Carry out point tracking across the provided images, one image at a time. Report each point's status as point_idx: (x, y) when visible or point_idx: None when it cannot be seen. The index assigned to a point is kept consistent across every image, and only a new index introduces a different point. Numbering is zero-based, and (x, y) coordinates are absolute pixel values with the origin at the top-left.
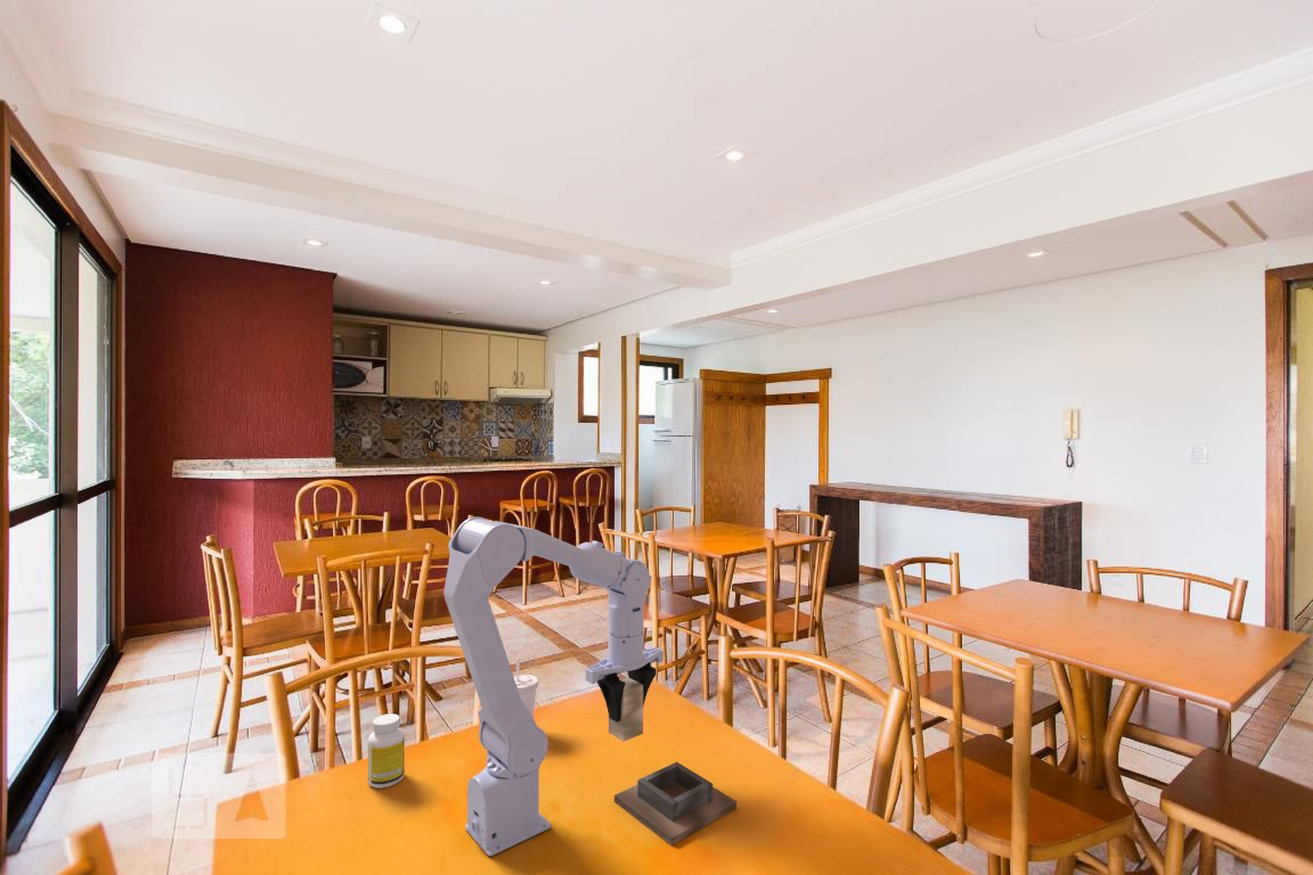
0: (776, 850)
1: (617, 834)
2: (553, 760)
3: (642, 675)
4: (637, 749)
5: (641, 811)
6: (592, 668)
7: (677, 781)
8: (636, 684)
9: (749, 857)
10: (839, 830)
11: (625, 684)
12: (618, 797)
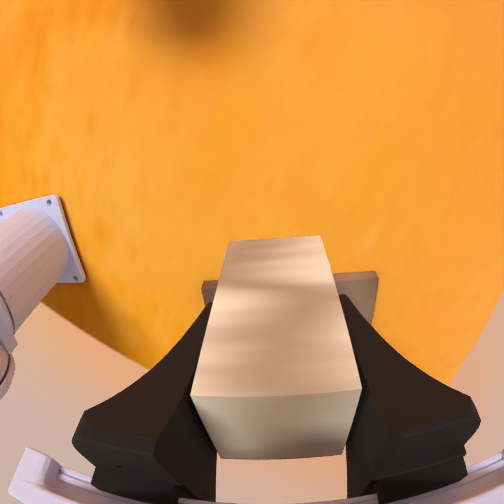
0: None
1: (173, 340)
2: (153, 60)
3: (352, 484)
4: (372, 138)
5: None
6: (40, 501)
7: None
8: (320, 447)
9: None
10: None
11: (274, 434)
12: (205, 297)
